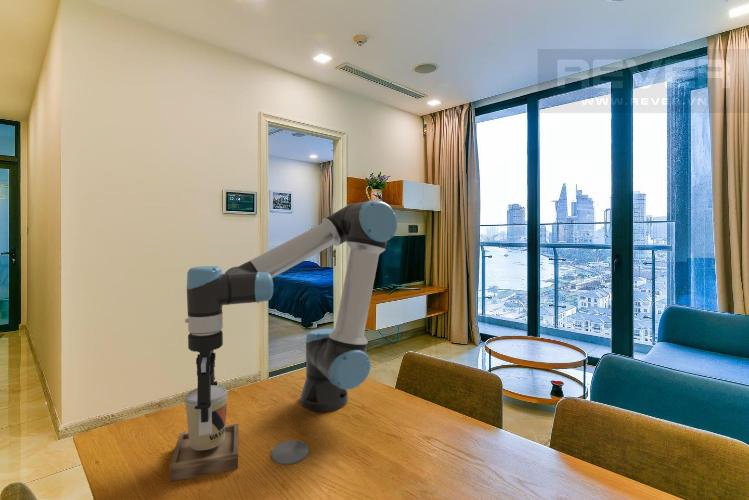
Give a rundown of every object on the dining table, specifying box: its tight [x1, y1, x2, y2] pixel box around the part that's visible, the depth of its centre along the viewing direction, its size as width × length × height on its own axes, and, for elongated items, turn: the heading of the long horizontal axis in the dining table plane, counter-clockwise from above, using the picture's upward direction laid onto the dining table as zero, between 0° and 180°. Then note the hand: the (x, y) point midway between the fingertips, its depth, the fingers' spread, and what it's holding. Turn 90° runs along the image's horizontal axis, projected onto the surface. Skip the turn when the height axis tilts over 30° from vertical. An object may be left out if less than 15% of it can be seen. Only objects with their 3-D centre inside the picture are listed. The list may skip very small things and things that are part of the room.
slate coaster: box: [270, 440, 309, 466], centre depth 91 cm, size 9×9×1 cm
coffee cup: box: [184, 384, 229, 450], centre depth 89 cm, size 9×9×12 cm
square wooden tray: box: [168, 423, 240, 483], centre depth 89 cm, size 14×14×4 cm
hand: (207, 422), depth 89 cm, fingers closed on coffee cup, 9 cm apart
